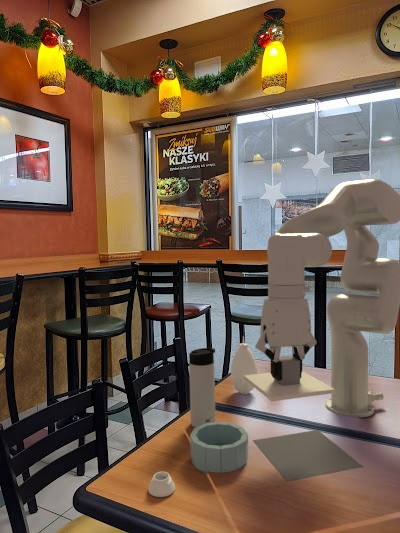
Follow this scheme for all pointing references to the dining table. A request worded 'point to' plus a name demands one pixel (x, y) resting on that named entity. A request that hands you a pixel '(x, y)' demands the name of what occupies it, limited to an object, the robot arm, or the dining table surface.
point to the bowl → (219, 447)
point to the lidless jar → (161, 485)
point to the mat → (305, 455)
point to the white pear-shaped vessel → (243, 368)
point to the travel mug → (202, 386)
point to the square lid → (288, 382)
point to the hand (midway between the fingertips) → (286, 376)
